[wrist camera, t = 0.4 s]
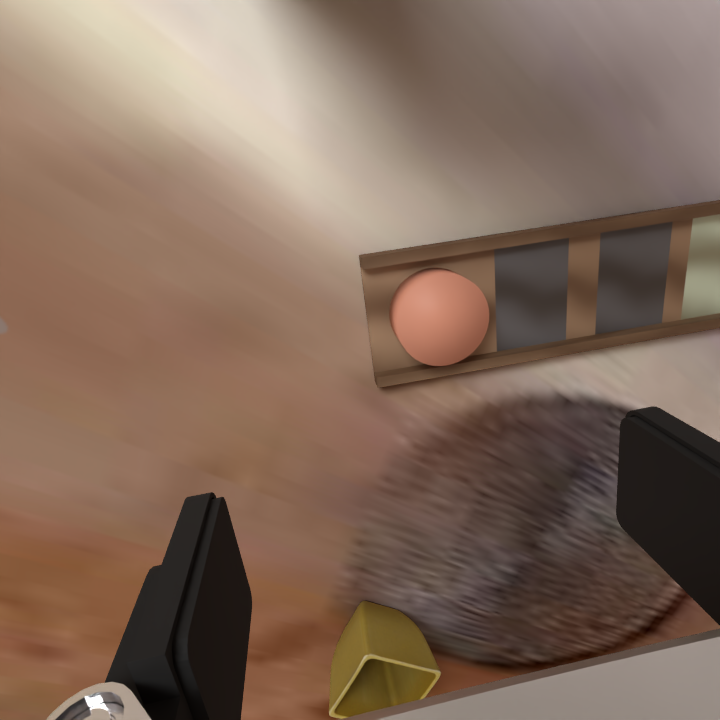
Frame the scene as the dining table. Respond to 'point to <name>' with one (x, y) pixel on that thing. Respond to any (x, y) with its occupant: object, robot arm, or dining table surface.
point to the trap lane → (561, 287)
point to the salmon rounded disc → (439, 316)
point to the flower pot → (379, 663)
